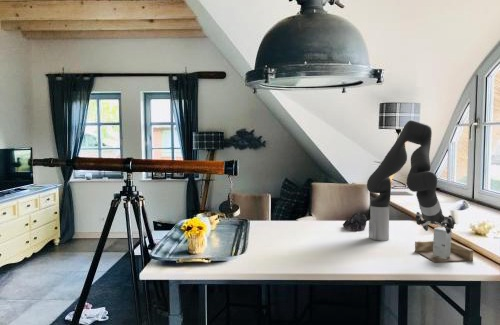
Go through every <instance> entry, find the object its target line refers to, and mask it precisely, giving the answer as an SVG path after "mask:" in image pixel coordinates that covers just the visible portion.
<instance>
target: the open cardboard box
mask: <svg viewBox="0 0 500 325" xmlns="http://www.w3.org/2000/svg"><path fill="white" fill-rule="evenodd" d="M414 252H415V253H417V254H419V255H421V256H422V257H424V258H426V259H427V260H430V261H432V262H433V263H434V264H437V263H455V262H456V263H460V262H461V263H462V262H473V261H474V250H473V249H471V248H469V247H466V246H464V245H462V244H460V243H457V242H455V241H453V240H451V250H450V257H447V258H442V257H439V256H436V255H433V240H426V241H425V240H423V241H422V240H420V241H414Z"/></svg>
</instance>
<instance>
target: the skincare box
mask: <svg viewBox="0 0 500 325" xmlns="http://www.w3.org/2000/svg"><path fill="white" fill-rule="evenodd" d="M452 230H453V229H451V232H450V233H449V234H447V232H446V228H444V227H441V226H438V227H435V228H433V240H432V241H433V255H436V256H439V257H442V258H447V257H450V250H451V241H452Z"/></svg>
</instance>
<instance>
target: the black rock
mask: <svg viewBox="0 0 500 325" xmlns="http://www.w3.org/2000/svg"><path fill="white" fill-rule="evenodd" d="M367 221H368V218H367V216H366V215H365V214H360V212H355V213H354V214H353V215H352V216H350V218H349V219H348V218H347V219H346V220H345V221H344V222H343V224H342V227H343V229H344V230H347V231H348V232H362V231H365V229H366V226H367Z"/></svg>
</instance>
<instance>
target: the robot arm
mask: <svg viewBox="0 0 500 325" xmlns="http://www.w3.org/2000/svg"><path fill="white" fill-rule="evenodd" d="M432 130H433V129H432V127H431V126H429V125H428V124H425V123H423V122H420V121H416V120H413V119H412V120H409V121H407V122H406V123H405V125H404V126H403V128H402V129H401V132H400V133H399V135H398V137H397V139H396V141H395V142H394V144H393V145H392V147H390V150H389V151H388V152H387V153H386V155H385V156H384V158H383V160H382V161H381V163H380V164H379V165H378V166H377V168H376V169H375V171H373V172H372V173H371V175H370V176H369V177H368V178H367V181H366V187H367V188H366V189H367V191H369V193H372V194H378V196H376V197H375V198H372V199H371V200H370V214H369V215H370V219H369V220H368V238H370V239H371V240H372V241H388V240H390V202H391V194H392V192H391V190H392V182H391V177H392V176H393V175H395V174H397V173H398V172H400V170H402V169H403V167H404V166H405V164H406V163H407V161H408V153H407V149H406V143H407V142H408V143H411V144H414V145H420V146H418V147H417V148H416V149H415V150H414V151H413V152H412V154H411V156H410V170H409V172H408V175H407V177H406V186H407V189H409V191H411V192H412V193H413V192H415V194H416V195H415V196H416V199H417V202H418V207H419V210H420V212H419V211H416V213H415V217H414V218H415V221H416V224H417V225H418V226H420V225H421V226H422V228H423V230H425V232H428V230H429V224H431V225H437V226H439V227H442V228H446V232H447V234H449V233H450V232H451V230H453V229H455V221H454V218H453V216H452V215H451V214H449V215H448V216H445V215H444V214H443V211H442V207H441V204H440V200H439V198H438V197H437V196H438V195H437V192H436V190H437V186H438V178H437V175H436V173H435V172H434V171H431V162H430V161H431V160H430V150H431V144H432V136H433V135H432V134H433V133H432ZM422 219H423V220H422Z"/></svg>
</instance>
